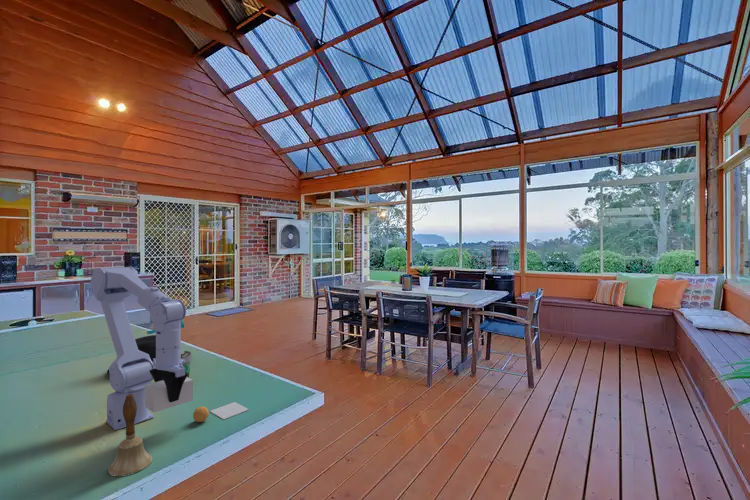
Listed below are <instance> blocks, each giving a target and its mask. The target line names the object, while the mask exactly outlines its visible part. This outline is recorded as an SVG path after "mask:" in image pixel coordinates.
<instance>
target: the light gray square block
mask: <svg viewBox="0 0 750 500" xmlns="http://www.w3.org/2000/svg"><path fill="white" fill-rule="evenodd" d="M249 410H250V409H249V408H247V407H245V406H244V405H241V404H239V403H238V402H235V401H233V402H230V403H228V404H225V405H223V406H220V407H217V408H215V409H211V410H209V413H211V414H213V415H215V416H217V417H219V418H220V419H221V420H223V421H224V420H226V419H229V418H232V417H235V416H237V415H239V414H242V413H245V412H248V411H249Z"/></svg>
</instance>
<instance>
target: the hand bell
mask: <svg viewBox="0 0 750 500" xmlns="http://www.w3.org/2000/svg"><path fill="white" fill-rule="evenodd" d="M136 412H137V405H136V401H135V399H134V397H133V394H129V395H126V399H125V402H124V405H123V416H124V419H125V422H126V427H125V439H123V440H121V442H119V444H118V449H117V454H116V457H115V459H114V461H113V462H112V463H111V464H110V465H109V467H108V470H107V474H108V473H109V474H110V476H111V475H113V476H112V477H114V475H115V476H123V475H128V474H132V473H135V472H137V473H139V472H138V471H140V470H142V471H143V470H145V469H146V468H148V467H149V466H150V465H151V464H152V462H153V456H152V454H151V453H149V452H147V451H146V450H145V447H144V442H143V438H142V437H140V436H136V430H135V427H136V426H135V424H134V421H135V417H136ZM140 472H141V471H140ZM109 474H108V475H109ZM135 474H136V473H135ZM132 475H133V474H132Z"/></svg>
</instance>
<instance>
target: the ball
mask: <svg viewBox="0 0 750 500" xmlns="http://www.w3.org/2000/svg"><path fill="white" fill-rule="evenodd" d="M209 414H210V410H209V409H208V408H207V407H206V406H198V407H197V408H196V409H195V410H194V412H193V413H192V418H193V420H194V421H195V422H196V423H203V422H205V421H206V420H207V419H208V418H209Z"/></svg>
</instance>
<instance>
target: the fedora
mask: <svg viewBox="0 0 750 500" xmlns="http://www.w3.org/2000/svg"><path fill="white" fill-rule="evenodd" d="M135 341H136V344H137V347H138V350H139V351H142V352H144V353H147V354H149V357H150V359H151V361H152V362H153V359H154V358H156V334H155V335H146V336H142V337H138V338H135ZM182 354H183V353H181V355H182ZM131 365H132V364H131ZM127 366H128V365H127ZM124 367H125V366H124ZM106 372H107V375H109V376H110V373H109V368H108V369H107V370H106Z"/></svg>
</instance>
